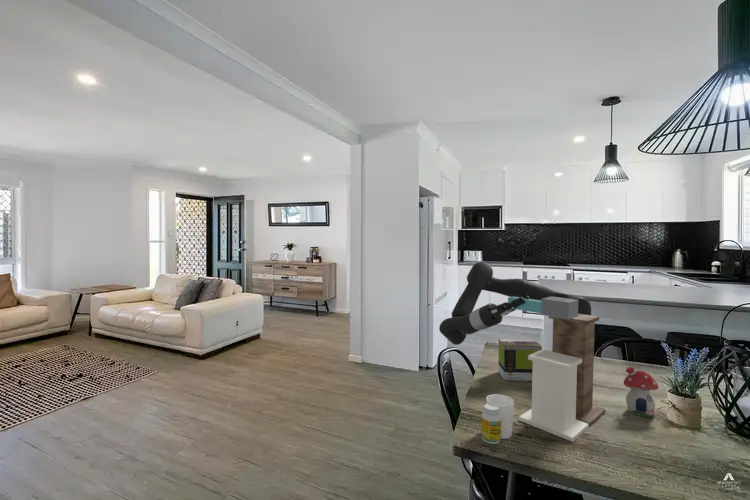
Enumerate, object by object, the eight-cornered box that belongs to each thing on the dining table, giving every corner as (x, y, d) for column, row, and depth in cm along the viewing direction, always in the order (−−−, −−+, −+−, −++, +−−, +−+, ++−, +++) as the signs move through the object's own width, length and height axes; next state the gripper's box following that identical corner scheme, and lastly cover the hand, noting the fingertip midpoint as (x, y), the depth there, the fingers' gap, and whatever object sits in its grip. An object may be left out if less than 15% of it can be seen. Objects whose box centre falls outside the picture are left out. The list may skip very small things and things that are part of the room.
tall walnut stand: (605, 412, 121) (608, 316, 120) (589, 426, 112) (592, 323, 111) (555, 396, 133) (558, 309, 132) (538, 408, 124) (540, 314, 123)
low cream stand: (588, 427, 111) (590, 359, 111) (572, 441, 103) (574, 368, 103) (536, 408, 123) (538, 347, 123) (519, 420, 116) (520, 354, 115)
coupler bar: (577, 316, 111) (578, 300, 110) (568, 319, 106) (569, 302, 106) (515, 305, 126) (516, 291, 126) (505, 308, 121) (505, 293, 121)
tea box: (533, 373, 156) (534, 339, 156) (542, 382, 146) (543, 345, 146) (497, 371, 158) (498, 337, 157) (503, 380, 148) (504, 344, 147)
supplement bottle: (491, 432, 108) (492, 401, 108) (505, 442, 103) (505, 408, 103) (477, 436, 106) (477, 404, 105) (489, 446, 101) (490, 412, 101)
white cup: (510, 427, 111) (511, 395, 111) (516, 441, 103) (517, 406, 103) (483, 425, 112) (484, 393, 112) (487, 439, 105) (488, 404, 104)
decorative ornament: (622, 412, 121) (623, 367, 121) (623, 405, 127) (624, 362, 126) (657, 421, 116) (659, 374, 115) (657, 413, 121) (658, 368, 121)
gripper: (469, 309, 128) (510, 290, 116) (491, 305, 137) (531, 287, 125) (478, 330, 125) (520, 312, 113) (500, 324, 134) (541, 307, 123)
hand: (526, 299), depth 119 cm, fingers closed on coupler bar, 3 cm apart
